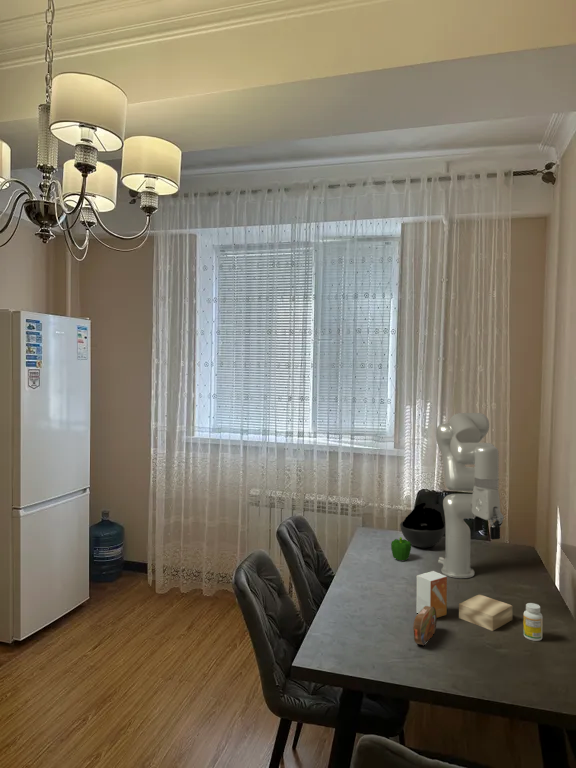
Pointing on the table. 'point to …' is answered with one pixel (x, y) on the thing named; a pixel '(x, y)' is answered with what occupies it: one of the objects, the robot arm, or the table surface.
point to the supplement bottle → (532, 622)
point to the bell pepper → (401, 549)
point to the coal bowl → (423, 527)
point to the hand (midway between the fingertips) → (486, 534)
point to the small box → (432, 592)
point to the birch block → (485, 612)
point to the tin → (424, 625)
